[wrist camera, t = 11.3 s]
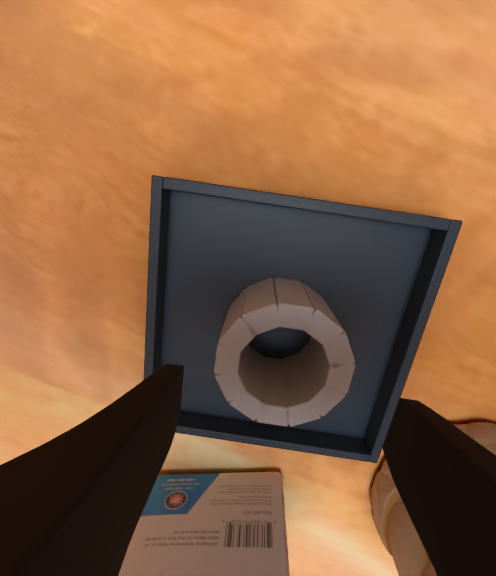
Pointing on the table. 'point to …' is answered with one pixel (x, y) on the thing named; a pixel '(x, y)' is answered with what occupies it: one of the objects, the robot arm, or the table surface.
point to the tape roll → (288, 371)
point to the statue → (396, 520)
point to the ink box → (211, 527)
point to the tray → (295, 266)
